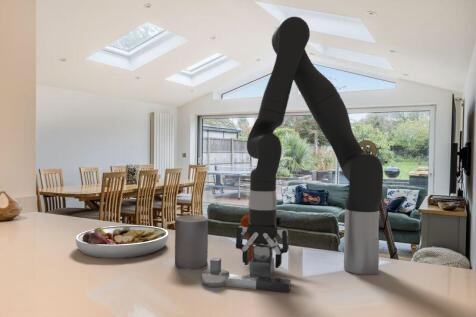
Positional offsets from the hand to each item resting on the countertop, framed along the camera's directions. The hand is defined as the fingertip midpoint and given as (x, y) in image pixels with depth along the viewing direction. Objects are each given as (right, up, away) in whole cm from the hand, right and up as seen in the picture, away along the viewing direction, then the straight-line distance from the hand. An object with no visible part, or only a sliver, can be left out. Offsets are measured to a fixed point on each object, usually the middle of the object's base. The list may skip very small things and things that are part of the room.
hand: (261, 265), depth 107 cm
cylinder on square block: (0, -2, 0) cm, 2 cm away
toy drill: (+2, -2, +12) cm, 12 cm away
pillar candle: (-20, -2, +9) cm, 22 cm away
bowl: (-45, -2, +26) cm, 53 cm away
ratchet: (-5, -2, -9) cm, 11 cm away
